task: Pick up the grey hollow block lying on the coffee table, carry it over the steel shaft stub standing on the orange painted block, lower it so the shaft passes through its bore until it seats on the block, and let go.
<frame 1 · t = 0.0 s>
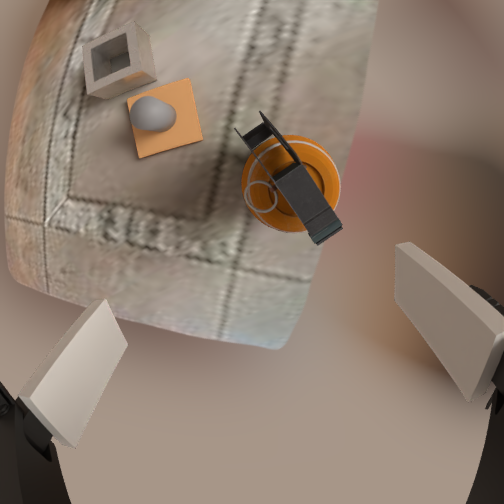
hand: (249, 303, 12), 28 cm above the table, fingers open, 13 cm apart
canister: (274, 166, 37), on the table
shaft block: (164, 118, 34), on the table
grey hollow block: (127, 66, 31), on the table
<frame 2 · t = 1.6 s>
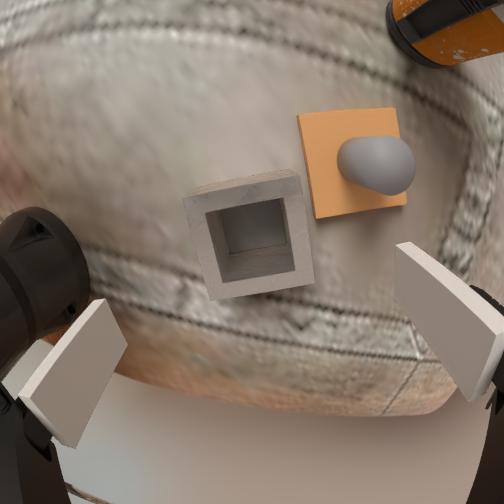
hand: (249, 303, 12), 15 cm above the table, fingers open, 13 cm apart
canister: (413, 34, 18), on the table
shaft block: (354, 159, 23), on the table
grey hollow block: (252, 220, 25), on the table
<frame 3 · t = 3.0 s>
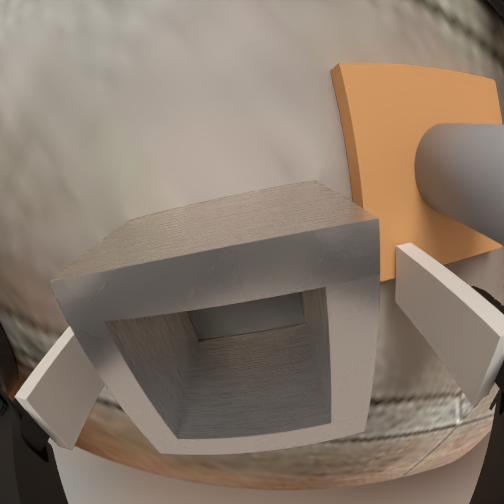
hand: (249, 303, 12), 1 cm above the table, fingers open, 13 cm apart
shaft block: (434, 165, 11), on the table
grey hollow block: (238, 286, 13), on the table
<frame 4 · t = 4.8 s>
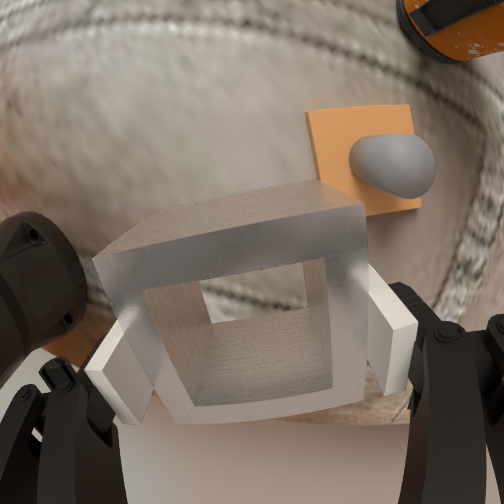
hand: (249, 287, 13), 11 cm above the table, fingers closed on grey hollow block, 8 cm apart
canister: (424, 28, 16), on the table
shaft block: (366, 159, 21), on the table
grey hollow block: (249, 272, 14), point 10 cm above the table, touching gripper
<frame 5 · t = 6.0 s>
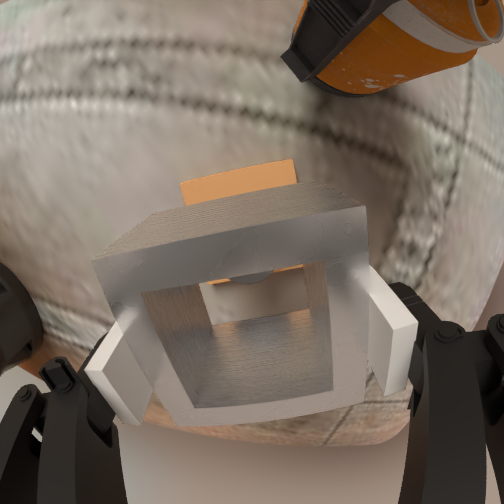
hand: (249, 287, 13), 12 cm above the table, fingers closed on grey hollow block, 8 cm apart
canister: (332, 57, 19), on the table
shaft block: (247, 221, 24), on the table
grey hollow block: (249, 273, 14), point 10 cm above the table, touching gripper
when the fingers open (3 cm above the table, at t = 7.8 s): grey hollow block stays where it is, resting on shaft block.
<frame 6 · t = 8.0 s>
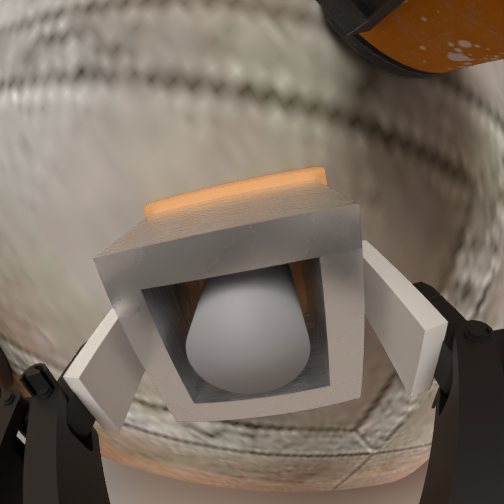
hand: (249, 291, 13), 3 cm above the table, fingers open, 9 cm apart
canister: (375, 20, 11), on the table
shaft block: (250, 263, 16), on the table
grey hollow block: (248, 271, 15), point 1 cm above the table, touching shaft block
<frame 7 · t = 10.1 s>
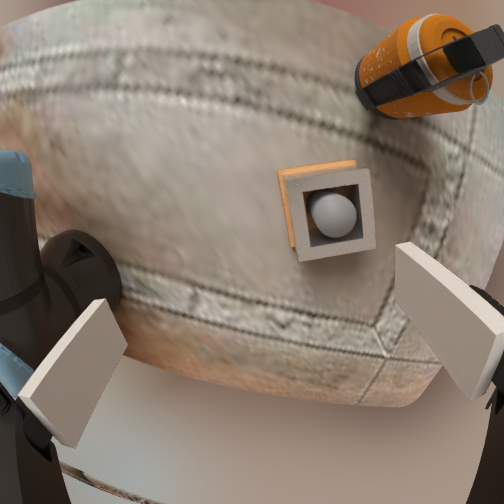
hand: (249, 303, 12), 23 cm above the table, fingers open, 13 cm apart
canister: (380, 89, 27), on the table
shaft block: (321, 202, 32), on the table
grey hollow block: (322, 203, 31), point 1 cm above the table, touching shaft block
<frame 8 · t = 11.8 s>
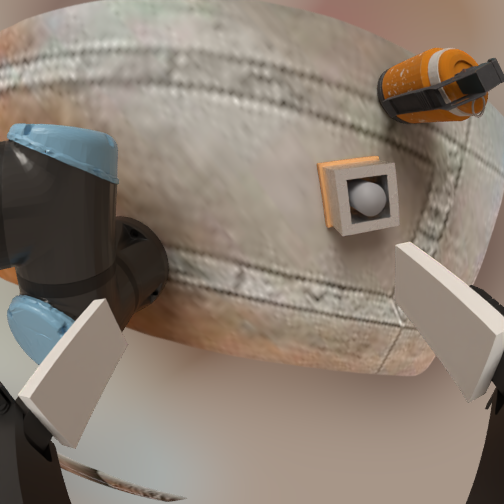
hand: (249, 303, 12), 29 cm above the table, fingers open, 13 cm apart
canister: (396, 98, 33), on the table
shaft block: (351, 190, 38), on the table
grey hollow block: (353, 191, 37), point 1 cm above the table, touching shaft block
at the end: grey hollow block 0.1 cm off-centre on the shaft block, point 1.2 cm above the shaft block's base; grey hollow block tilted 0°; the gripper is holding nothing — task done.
